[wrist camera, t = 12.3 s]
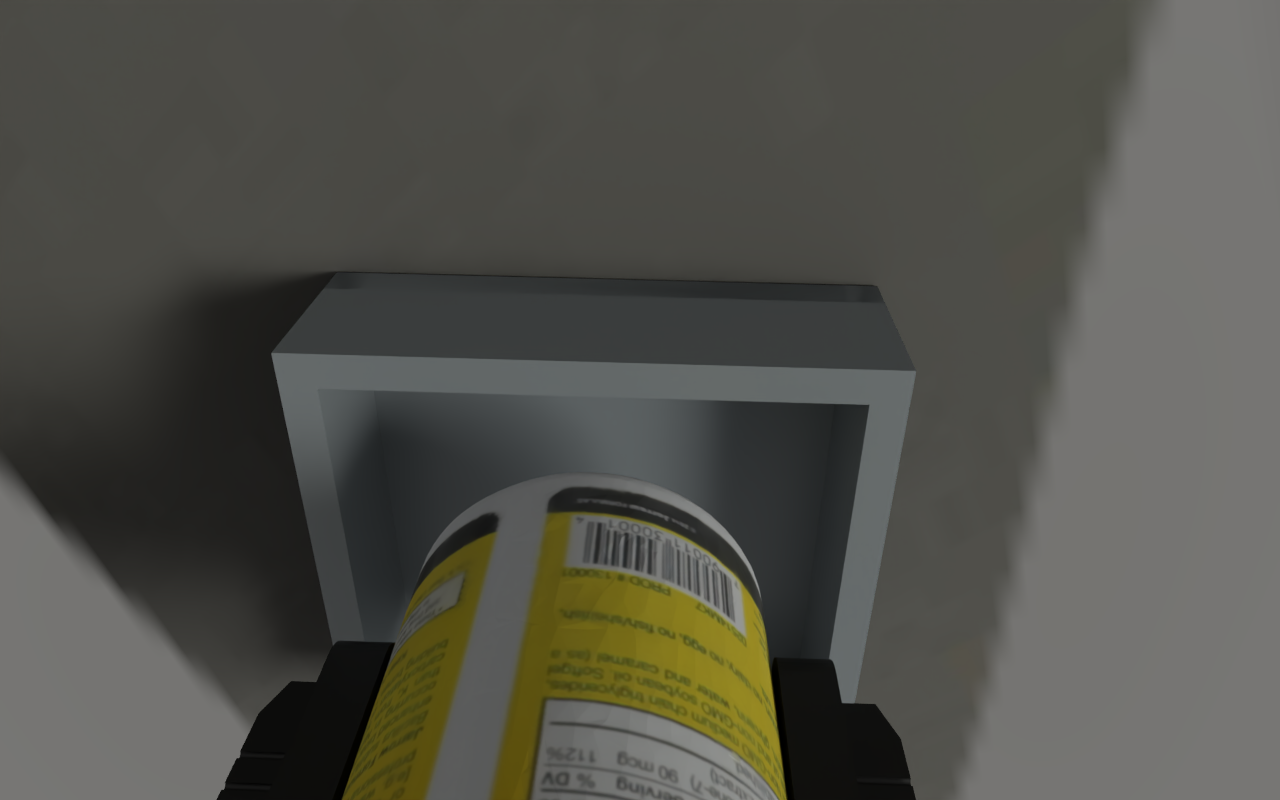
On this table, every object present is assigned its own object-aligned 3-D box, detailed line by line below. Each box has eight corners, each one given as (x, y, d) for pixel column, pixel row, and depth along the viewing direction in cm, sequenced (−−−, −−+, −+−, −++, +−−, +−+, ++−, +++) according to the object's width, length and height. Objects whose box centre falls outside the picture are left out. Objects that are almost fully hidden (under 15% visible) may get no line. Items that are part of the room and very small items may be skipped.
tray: (336, 272, 14) (271, 352, 12) (877, 285, 14) (916, 370, 11) (400, 659, 18) (360, 774, 16) (817, 674, 18) (837, 793, 15)
